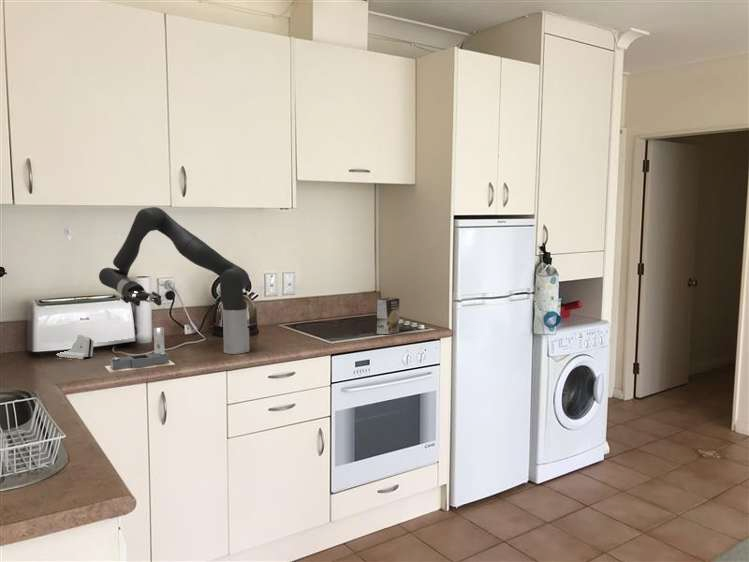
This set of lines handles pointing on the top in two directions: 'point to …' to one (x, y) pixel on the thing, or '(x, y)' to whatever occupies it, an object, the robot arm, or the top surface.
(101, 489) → the top surface
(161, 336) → the link pin
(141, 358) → the grey notched block
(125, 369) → the board
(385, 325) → the coffee box
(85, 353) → the hinge
